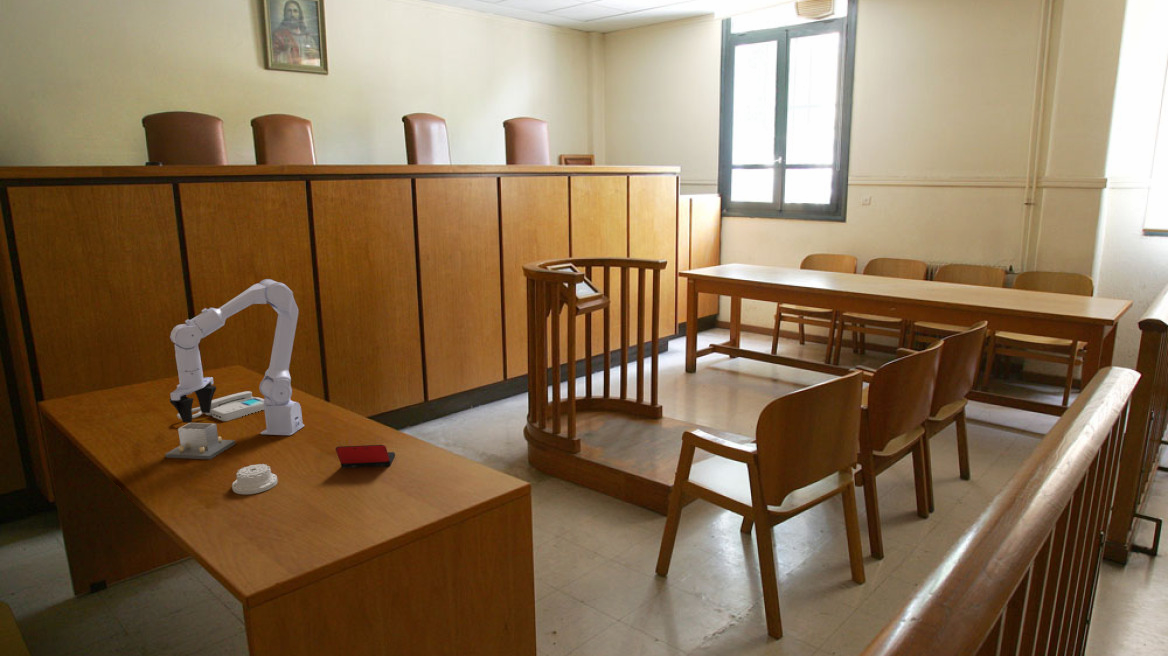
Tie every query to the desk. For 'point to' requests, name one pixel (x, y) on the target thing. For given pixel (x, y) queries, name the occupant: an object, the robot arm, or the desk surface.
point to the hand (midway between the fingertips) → (196, 417)
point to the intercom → (232, 406)
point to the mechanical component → (254, 479)
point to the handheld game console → (364, 456)
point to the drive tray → (200, 451)
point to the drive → (198, 436)
